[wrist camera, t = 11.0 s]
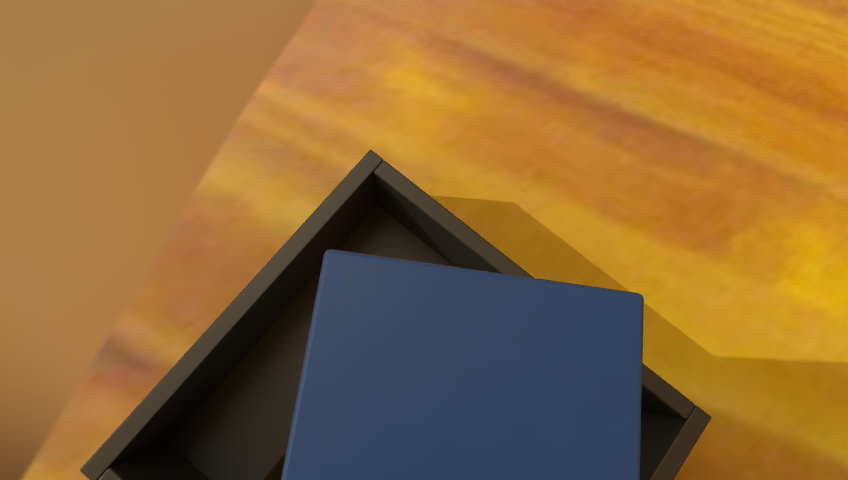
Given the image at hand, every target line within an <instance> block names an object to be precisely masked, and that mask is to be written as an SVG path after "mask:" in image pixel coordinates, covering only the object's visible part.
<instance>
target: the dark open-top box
mask: <svg viewBox="0 0 848 480" xmlns="http://www.w3.org/2000/svg"><path fill="white" fill-rule="evenodd" d="M330 249H333V250H340V251H347V252H354V253H361V254H368V255H375V256H382V257H389V258H396V259H403V260H410V261H417V262H424V263H431V264H438V265H445V266H452V267H459V268H466V269H473V270H480V271H487V272H494V273H501V274H508V275H515V276H522V277H529V278H533V277H532V276H531V275H530V274H528V273H527V272H526V271H525V270H523V269H522V268H521V267H519V266H518V265H517V264H516V263H514V262H513V261H512V260H511V259H509V258H508V257H507V256H505V255H504V254H503V253H502V252H500V251H499V250H498V249H497V248H495V247H494V246H493V245H491V244H490V243H489V242H488V241H486V240H485V239H484V238H483V237H481V236H480V235H479V234H477V233H476V232H475V231H474V230H472V229H471V228H470V227H469V226H467V225H466V224H465V223H463V222H462V221H461V220H460V219H458V218H457V217H456V216H455V215H453V214H452V213H451V212H449V211H448V210H447V209H446V208H444V207H443V206H442V205H441V204H439V203H438V202H437V201H435V200H434V199H433V198H432V197H430V196H429V195H428V194H427V193H425V192H424V191H423V190H421V189H420V188H419V187H418V186H416V185H415V184H414V183H413V182H411V181H410V180H409V179H407V178H406V177H405V176H404V175H402V174H401V173H400V172H399V171H397V170H396V169H395V168H393V167H392V166H391V165H390V164H388V163H387V162H386V161H383V159H382V158H381V157H380V156H378V155H377V154H376V153H375V152H373V151H372V150H370V151H369V152H368V153H367V154H366V155H365V156H364V157H363V158H362V159H361V161H360V162H359V163H358V164H357V165H356V166H355V167H354V168H353V169H352V170H351V172H350V173H349V174H348V175H347V176H346V177H345V178H344V179H343V180H342V182H341V183H340V184H339V185H338V186H337V187H336V188H335V189H334V190H333V191H332V193H331V194H330V195H329V196H328V197H327V198H326V199H325V200H324V201H323V202H322V204H321V205H320V206H319V207H318V208H317V209H316V210H315V211H314V212H313V213H312V215H311V216H310V217H309V218H308V219H307V220H306V221H305V222H304V223H303V224H302V226H301V227H300V228H299V229H298V230H297V231H296V232H295V233H294V234H293V235H292V237H291V238H290V239H289V240H288V241H287V242H286V243H285V244H284V245H283V247H282V248H281V249H280V250H279V251H278V252H277V253H276V254H275V255H274V256H273V258H272V259H271V260H270V261H269V262H268V263H267V264H266V265H265V266H264V267H263V269H262V270H261V271H260V272H259V273H258V274H257V275H256V276H255V277H254V278H253V280H252V281H251V282H250V283H249V284H248V285H247V286H246V287H245V288H244V289H243V291H242V292H241V293H240V294H239V295H238V296H237V297H236V298H235V299H234V300H233V302H232V303H231V304H230V305H229V306H228V307H227V308H226V309H225V310H224V312H223V313H222V314H221V315H220V316H219V317H218V318H217V319H216V320H215V321H214V323H213V324H212V325H211V326H210V327H209V328H208V329H207V330H206V331H205V332H204V334H203V335H202V336H201V337H200V338H199V339H198V340H197V341H196V342H195V343H194V345H193V346H192V347H191V348H190V349H189V350H188V351H187V352H186V353H185V354H184V356H183V357H182V358H181V359H180V360H179V361H178V362H177V363H176V364H175V366H174V367H173V368H172V369H171V370H170V371H169V372H168V373H167V374H166V375H165V377H164V378H163V379H162V380H161V381H160V382H159V383H158V384H157V385H156V386H155V388H154V389H153V390H152V391H151V392H150V393H149V394H148V395H147V396H146V397H145V399H144V400H143V401H142V402H141V403H140V404H139V405H138V406H137V407H136V408H135V410H134V411H133V412H132V413H131V414H130V415H129V416H128V417H127V418H126V419H125V421H124V422H123V423H122V424H121V425H120V426H119V427H118V428H117V429H116V431H115V432H114V433H113V434H112V435H111V436H110V437H109V438H108V439H107V440H106V442H105V443H104V444H103V445H102V446H101V447H100V448H99V449H98V450H97V451H96V453H95V454H94V455H93V456H92V457H91V458H90V459H89V460H88V461H87V462H86V464H85V465H84V466H83V467H82V468H81V469H80V471H81V472H82V473H83V474H84V475H85V476H86V477H88V478H89V479H90V480H262V479H263V478H264V477H265V476H266V475H267V473H268V472H269V471H270V470H271V468H272V467H273V466H274V465H275V464H276V462H277V461H278V460H279V459H280V457H281V456H282V455H283V454H284V453H285V451H286V450H287V446H288V440H289V435H290V430H291V425H292V420H293V414H294V409H295V404H296V399H297V393H298V388H299V383H300V378H301V373H302V367H303V362H304V357H305V352H306V347H307V341H308V336H309V331H310V326H311V320H312V315H313V310H314V305H315V300H316V294H317V289H318V284H319V279H320V274H321V268H322V263H323V258H324V254H325V252H326V251H327V250H330ZM710 419H711V416H710V415H708V414H707V413H706V412H704V411H703V410H702V409H701V408H699V407H698V406H696V405H695V404H694V403H693V402H691V401H690V400H689V399H688V398H686V397H685V396H684V395H682V394H681V393H680V392H679V391H677V390H676V389H675V388H674V387H672V386H671V385H670V384H668V383H667V382H666V381H665V380H663V379H662V378H661V377H660V376H658V375H657V374H656V373H654V372H653V371H652V370H651V369H649V368H648V367H647V366H646V365H644V364H643V363H642V394H641V438H640V480H673V479H674V478H675V476H676V474H677V473H678V471H679V469H680V468H681V466H682V465H683V463H684V461H685V460H686V458H687V457H688V455H689V453H690V452H691V450H692V448H693V447H694V445H695V444H696V442H697V440H698V439H699V437H700V435H701V434H702V432H703V431H704V429H705V427H706V426H707V424H708V422H709V421H710Z"/></svg>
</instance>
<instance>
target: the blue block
mask: <svg viewBox="0 0 848 480" xmlns="http://www.w3.org/2000/svg"><path fill="white" fill-rule="evenodd" d="M643 306H644V299H643V296H642V295H640V294H638V293H633V292H626V291H619V290H612V289H606V288H599V287H592V286H585V285H578V284H571V283H564V282H557V281H550V280H543V279H536V278H529V277H522V276H515V275H508V274H501V273H494V272H487V271H480V270H473V269H466V268H459V267H452V266H445V265H438V264H431V263H424V262H417V261H410V260H403V259H396V258H389V257H382V256H375V255H368V254H361V253H354V252H347V251H340V250H333V249H330V250H327V251H326V252H325V254H324V258H323V263H322V268H321V274H320V279H319V284H318V289H317V294H316V300H315V305H314V310H313V315H312V320H311V326H310V331H309V336H308V341H307V347H306V352H305V357H304V362H303V367H302V373H301V378H300V383H299V388H298V393H297V399H296V404H295V409H294V414H293V420H292V425H291V430H290V435H289V440H288V446H287V451H286V456H285V461H284V466H283V472H282V477H281V480H640V438H641V394H642V350H643Z"/></svg>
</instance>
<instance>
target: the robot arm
mask: <svg viewBox="0 0 848 480" xmlns="http://www.w3.org/2000/svg"><path fill="white" fill-rule="evenodd" d="M286 451H287V450H286ZM286 451H285V453H284V454H283V455H282V456H281V457H280V459H279V460H278V461H277V462H276V464H275V465H274V466H273V467H272V468H271V470H270V471H269V472H268V473H267V475H266V476H265V477H264V478H263V479H262V480H281V477H282V472H283V466H284V461H285V456H286Z"/></svg>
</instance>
